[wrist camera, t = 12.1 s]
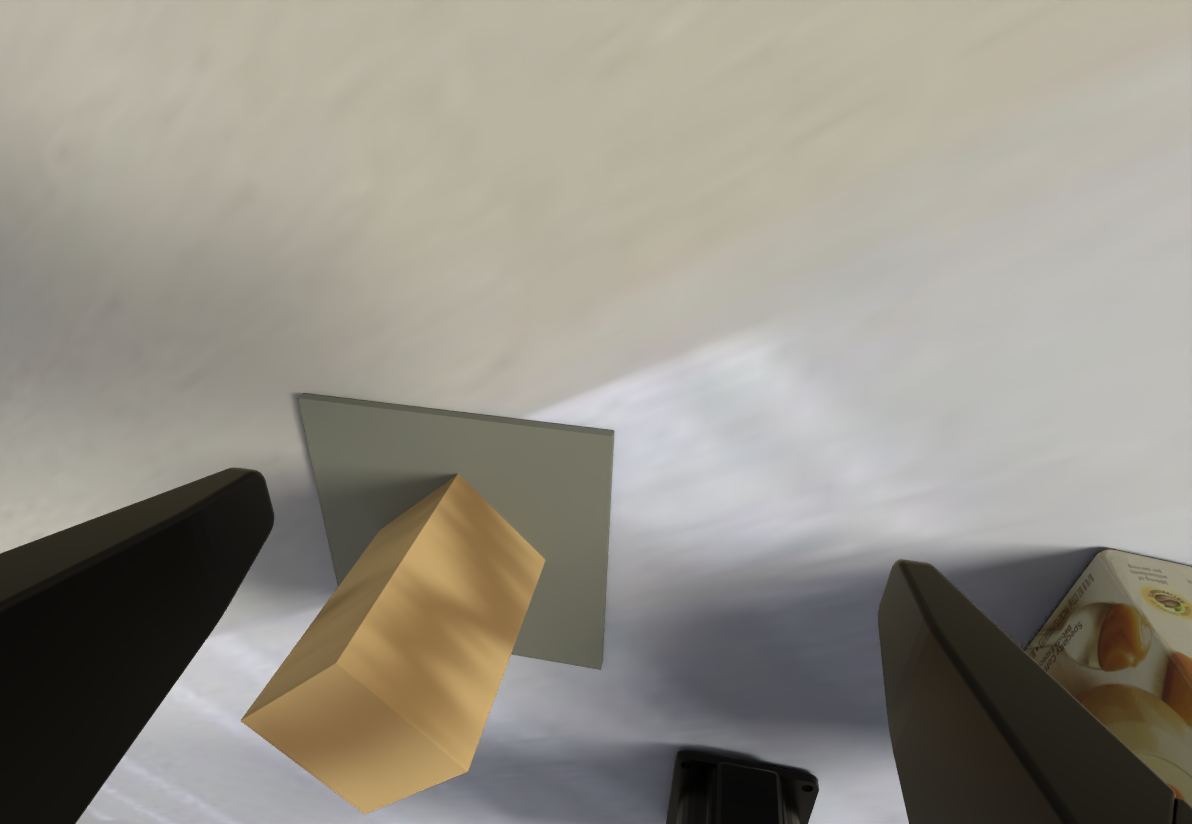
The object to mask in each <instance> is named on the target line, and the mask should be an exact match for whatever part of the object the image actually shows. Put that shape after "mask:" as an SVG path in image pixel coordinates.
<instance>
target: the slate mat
mask: <svg viewBox="0 0 1192 824" xmlns="http://www.w3.org/2000/svg"><path fill="white" fill-rule="evenodd" d="M298 402H299V406H300V411H301V416H302V420H303V425H304V430H305V434H306V439H307V444H308V448H309V453H310V458H311V462H312V467H313V472H314V476H315V481H316V486H317V490H318V495H319V500H320V504H321V509H322V513H323V518H324V523H325V527H326V532H327V537H328V541H329V546H330V551H331V555H332V560H333V565H334V569H335V574H336V579H337V583H338V587H339V585H340V584H341V582H342V581H343V580H344V578H345V577H346V576H347V574H348V573H349V572H350V570H351V569H352V567H353V566H354V565H355V563H356V562H357V561H358V559H359V558H360V556H361V555H362V554H363V552H364V551H365V550H366V548H367V547H368V546H369V544H370V543H371V541H372V540H373V539H374V537H375V536H376V535H377V533H378V532H379V530H381V529H382V528H383V527H385V526H386V525H388V524H389V523H390V522H392V521H393V520H394V519H396V518H397V517H399V516H400V515H401V514H403V513H404V512H406V511H407V510H408V509H410V508H411V507H413V506H414V505H415V504H417V503H418V502H419V501H421V500H422V499H424V498H425V497H426V496H428V495H429V494H431V493H432V492H433V491H435V490H436V489H437V488H439V487H440V486H442V485H443V484H444V483H446V482H447V481H449V480H450V479H451V478H453V477H454V476H455V475H457V474H459V475H460V476H461V477H462V478H463V479H464V480H465V481H466V482H467V483H468V484H469V485H470V486H471V487H472V488H473V489H474V490H475V491H476V492H477V493H478V494H479V495H480V496H481V497H482V498H483V499H484V500H485V501H486V502H488V503H489V504H490V505H491V506H492V507H493V508H494V509H495V510H496V511H497V512H498V513H499V514H500V515H501V516H502V517H503V518H504V519H505V520H506V521H507V522H508V523H509V524H510V525H511V526H512V527H513V528H514V529H515V530H516V531H517V532H518V533H519V534H520V535H521V536H522V537H523V538H524V539H525V540H526V541H527V542H528V543H529V544H530V545H531V546H532V547H533V548H534V549H535V550H536V551H537V552H538V553H539V554H540V555H541V556H542V557H543V558H544V559H545V563H544V566H543V568H542V571H541V574H540V577H539V579H538V582H537V585H536V587H535V590H534V593H533V596H532V598H531V601H530V604H529V607H528V609H527V612H526V615H525V617H524V620H523V623H522V626H521V628H520V631H519V634H518V637H517V639H516V642H515V645H514V647H513V650H512V653H511V654H513V655H519V656H524V657H530V658H536V659H542V660H548V661H553V662H559V663H565V664H571V665H576V666H582V667H588V668H594V669H600V670H601V667H602V660H603V641H604V622H605V602H606V583H607V564H608V544H609V525H610V506H611V486H612V467H613V448H614V431H613V430H604V429H596V428H588V427H579V426H571V425H563V424H554V423H546V422H538V421H529V420H521V419H513V418H504V417H496V416H488V415H480V414H471V413H463V412H455V411H446V410H438V409H430V408H421V407H413V406H405V405H396V404H388V403H380V402H371V401H363V400H355V399H346V398H338V397H330V396H322V395H313V394H305V393H303V394H302V395H301V396H300V397H299V398H298Z"/></svg>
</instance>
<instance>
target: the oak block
mask: <svg viewBox="0 0 1192 824" xmlns="http://www.w3.org/2000/svg"><path fill="white" fill-rule="evenodd" d="M544 563H545V559H544V558H543V557H542V556H541V555H540V554H539V553H538V552H537V551H536V550H535V549H534V548H533V547H532V546H531V545H530V544H529V543H528V542H527V541H526V540H525V539H524V538H523V537H522V536H521V535H520V534H519V533H518V532H517V531H516V530H515V529H514V528H513V527H512V526H511V525H510V524H509V523H508V522H507V521H506V520H505V519H504V518H503V517H502V516H501V515H500V514H499V513H498V512H497V511H496V510H495V509H494V508H493V507H492V506H491V505H490V504H489V503H488V502H486V501H485V500H484V499H483V498H482V497H481V496H480V495H479V494H478V493H477V492H476V491H475V490H474V489H473V488H472V487H471V486H470V485H469V484H468V483H467V482H466V481H465V480H464V479H463V478H462V477H461V476H460V475H459V474H457V475H455V476H454V477H453V478H451V479H450V480H449V481H447V482H446V483H444V484H443V485H442V486H440V487H439V488H437V489H436V490H435V491H433V492H432V493H431V494H429V495H428V496H426V497H425V498H424V499H422V500H421V501H419V502H418V503H417V504H415V505H414V506H413V507H411V508H410V509H408V510H407V511H406V512H404V513H403V514H401V515H400V516H399V517H397V518H396V519H394V520H393V521H392V522H390V523H389V524H388V525H386V526H385V527H383V528H382V529H381V530H379V532H378V533H377V535H376V536H375V537H374V539H373V540H372V541H371V543H370V544H369V546H368V547H367V548H366V550H365V551H364V552H363V554H362V555H361V556H360V558H359V559H358V561H357V562H356V563H355V565H354V566H353V567H352V569H351V570H350V572H349V573H348V574H347V576H346V577H345V578H344V580H343V581H342V582H341V584H340V585H339V587H338V588H337V589H336V591H335V592H334V593H333V595H332V596H331V598H330V599H329V600H328V602H327V603H326V604H325V606H324V607H323V609H322V610H321V611H320V613H319V614H318V615H317V617H316V618H315V619H314V621H313V622H312V624H311V625H310V626H309V628H308V629H307V630H306V632H305V633H304V635H303V636H302V637H301V639H300V640H299V641H298V643H297V644H296V645H295V647H294V648H293V650H292V651H291V652H290V654H289V655H288V656H287V658H286V659H285V661H284V662H283V663H282V665H281V666H280V667H279V669H278V670H277V672H276V673H275V674H274V676H273V677H272V678H271V680H270V681H269V682H268V684H267V685H266V687H265V688H264V689H263V691H262V692H261V693H260V695H259V696H258V698H257V699H256V700H255V702H254V703H253V704H252V706H251V707H250V708H249V710H248V711H247V713H246V714H245V715H244V717H243V718H242V719H241V722H243V723H244V724H245V725H247V726H248V727H249V728H251V729H252V730H253V731H255V732H256V733H257V734H259V735H260V736H261V737H263V738H264V739H265V740H267V741H268V742H269V743H271V744H272V745H273V746H275V747H276V748H277V749H278V750H280V751H281V752H282V753H284V754H285V755H286V756H288V757H289V758H290V759H292V760H293V761H294V762H296V763H297V764H298V765H300V766H301V767H302V768H304V769H305V770H306V771H308V772H309V773H310V774H312V775H313V776H314V777H316V778H317V779H318V780H320V781H321V782H322V783H324V784H325V785H326V786H328V787H329V788H330V789H332V790H333V791H334V792H335V793H337V794H338V795H339V796H341V797H342V798H343V799H345V800H346V801H347V802H349V803H350V804H351V805H353V806H354V807H355V808H357V809H358V810H359V811H361V812H362V813H363V814H367V813H369V812H372V811H374V810H376V809H379V808H381V807H384V806H386V805H389V804H391V803H393V802H396V801H398V800H401V799H403V798H405V797H408V796H410V795H413V794H415V793H417V792H420V791H422V790H425V789H427V788H430V787H432V786H434V785H437V784H439V783H442V782H444V781H446V780H449V779H451V778H454V777H456V776H458V775H461V774H463V773H466V772H468V770H469V767H470V765H471V762H472V759H473V757H474V754H475V751H476V748H477V746H478V743H479V740H480V737H481V735H482V732H483V729H484V727H485V724H486V721H487V718H488V716H489V713H490V710H491V707H492V705H493V702H494V699H495V697H496V694H497V691H498V688H499V686H500V683H501V680H502V677H503V675H504V672H505V669H506V667H507V664H508V661H509V658H510V656H511V653H512V650H513V647H514V645H515V642H516V639H517V637H518V634H519V631H520V628H521V626H522V623H523V620H524V617H525V615H526V612H527V609H528V607H529V604H530V601H531V598H532V596H533V593H534V590H535V587H536V585H537V582H538V579H539V577H540V574H541V571H542V568H543V566H544Z"/></svg>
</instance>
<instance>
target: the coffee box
mask: <svg viewBox="0 0 1192 824" xmlns="http://www.w3.org/2000/svg"><path fill="white" fill-rule="evenodd" d="M1025 652H1026V653H1027V654H1028V655H1029V656H1030V657H1031V658H1033V659H1034V660H1035V661H1036V662H1037V663H1038V664H1039V665H1040V666H1041V667H1042V668H1043V669H1044V670H1045V671H1046V672H1048V673H1049V674H1050V675H1051V676H1052V677H1053V678H1054V679H1055V680H1056V681H1057V682H1058V683H1059V684H1060V685H1061V686H1063V687H1064V688H1065V689H1066V690H1067V691H1068V692H1069V693H1070V694H1071V695H1072V696H1073V697H1074V698H1075V699H1076V700H1078V701H1079V702H1080V703H1081V704H1082V705H1083V706H1084V707H1085V708H1086V709H1087V710H1088V711H1089V712H1090V713H1091V714H1093V715H1094V716H1095V717H1096V718H1097V719H1098V720H1099V721H1100V722H1101V723H1102V724H1103V725H1104V726H1105V727H1106V728H1108V729H1109V730H1110V731H1111V732H1112V733H1113V734H1114V735H1115V736H1116V737H1117V738H1118V739H1119V740H1120V741H1121V742H1123V743H1124V744H1125V745H1126V746H1127V747H1128V748H1129V749H1130V750H1131V751H1132V752H1133V753H1134V754H1135V755H1136V756H1138V757H1139V758H1140V759H1141V760H1142V761H1143V762H1144V763H1145V764H1146V765H1147V766H1148V767H1149V768H1150V769H1151V770H1153V771H1154V772H1155V773H1156V774H1157V775H1158V776H1159V777H1160V778H1161V779H1162V780H1163V781H1164V782H1165V783H1166V784H1168V785H1169V786H1170V787H1171V788H1172V789H1173V790H1174V791H1175V794H1176V798H1182V799H1184V800H1185V801H1186V802H1187V803H1188V804H1189V805H1190V806H1191V807H1192V567H1191V566H1186V565H1182V564H1177V563H1172V562H1168V561H1163V560H1159V559H1154V558H1149V557H1145V556H1140V555H1136V554H1131V553H1127V552H1122V551H1117V550H1108V549H1107V550H1104V551H1102V552H1099V553H1098V554H1097V555H1096V556H1095V557H1094V559H1093V560H1092V561H1091V563H1090V564H1089V565H1088V567H1087V568H1086V569H1085V571H1084V572H1083V573H1082V575H1081V576H1080V577H1079V579H1078V580H1077V581H1076V583H1075V584H1074V585H1073V587H1072V588H1071V589H1070V591H1069V592H1068V593H1067V595H1066V596H1065V597H1064V599H1063V600H1062V602H1061V603H1060V604H1059V606H1058V607H1057V608H1056V610H1055V611H1054V612H1053V614H1052V615H1051V616H1050V618H1049V619H1048V620H1047V622H1046V623H1045V624H1044V626H1043V627H1042V628H1041V630H1040V631H1039V633H1038V634H1037V635H1036V637H1035V638H1034V639H1033V641H1032V642H1031V643H1030V645H1029V646H1028V647H1027V649H1026V650H1025ZM1176 798H1175V799H1176Z"/></svg>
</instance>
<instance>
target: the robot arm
mask: <svg viewBox="0 0 1192 824" xmlns="http://www.w3.org/2000/svg"><path fill="white" fill-rule="evenodd" d="M273 524H274V512H273V508H272V504H271V500H270V496H269V493H268V489H267V485H266V481H265V478H264V476H263V475H262V474H261V473H260V472H259V471H256V470H251V469H244V468H229V469H226V470H223V471H221V472H218V473H215V474H213V475H210V476H207V477H205V478H202V479H199V480H197V481H194V482H191V483H189V484H186V485H183V486H181V487H178V488H175V489H172V490H170V491H167V492H164V493H162V494H159V495H156V496H154V497H151V498H148V499H146V500H143V501H140V502H138V503H135V504H132V505H130V506H127V507H124V508H121V509H119V510H116V511H113V512H111V513H108V514H105V515H103V516H100V517H97V518H95V519H92V520H89V521H87V522H84V523H81V524H79V525H76V526H73V527H70V528H68V529H65V530H62V531H60V532H57V533H54V534H52V535H49V536H46V537H44V538H41V539H38V540H36V541H33V542H30V543H28V544H25V545H22V546H19V547H17V548H14V549H11V550H9V551H6V552H3V553H1V554H0V824H76V822H77V821H78V819H79V818H80V817H81V815H82V814H83V812H84V811H85V810H86V808H87V807H88V805H89V804H90V803H91V801H92V800H93V798H94V797H95V796H96V794H97V793H98V791H99V790H100V788H101V787H102V786H103V784H104V783H105V781H106V780H107V779H108V777H109V776H110V774H111V773H112V772H113V770H114V769H115V767H116V766H117V765H118V763H119V762H120V760H121V759H122V757H123V756H124V755H125V753H126V752H127V750H128V749H129V748H130V746H131V745H132V743H133V742H134V741H135V739H136V738H137V736H138V735H139V734H140V732H141V731H142V729H143V728H144V726H145V725H146V724H147V722H148V721H149V719H150V718H151V717H152V715H153V714H154V712H155V711H156V710H157V708H158V707H159V705H160V704H161V702H162V701H163V700H164V698H165V697H166V695H167V694H168V693H169V691H170V690H171V688H172V687H173V686H174V684H175V683H176V681H177V680H178V679H179V677H180V676H181V674H182V673H183V671H184V670H185V669H186V667H187V666H188V664H189V663H190V662H191V660H192V659H193V657H194V656H195V655H196V653H197V652H198V650H199V649H200V648H201V646H202V645H203V643H204V642H205V640H206V639H207V638H208V636H209V635H210V633H211V632H212V631H213V629H214V628H215V626H216V625H217V623H218V622H219V620H220V619H221V617H222V616H223V614H224V612H225V611H226V609H227V607H228V606H229V604H230V602H231V601H232V599H233V597H234V595H235V594H236V592H237V590H238V588H239V587H240V585H241V583H242V581H243V580H244V578H245V576H246V574H247V573H248V571H249V569H250V567H251V566H252V564H253V562H254V560H255V559H256V557H257V555H258V553H259V552H260V550H261V548H262V546H263V545H264V543H265V541H266V539H267V538H268V536H269V534H270V532H271V530H272V527H273ZM878 626H879V636H880V646H881V656H882V666H883V676H884V686H885V696H886V706H887V716H888V724H889V732H890V737H891V743H892V748H893V753H894V758H895V762H896V767H897V771H898V776H899V780H900V785H901V789H902V794H903V798H904V803H905V807H906V812H907V816H908V821H909V824H1192V807H1191V806H1190V805H1189V804H1188V803H1187V802H1186V801H1185V800H1184V799H1182V798H1176V794H1175V791H1174V790H1173V789H1172V788H1171V787H1170V786H1169V785H1168V784H1166V783H1165V782H1164V781H1163V780H1162V779H1161V778H1160V777H1159V776H1158V775H1157V774H1156V773H1155V772H1154V771H1153V770H1151V769H1150V768H1149V767H1148V766H1147V765H1146V764H1145V763H1144V762H1143V761H1142V760H1141V759H1140V758H1139V757H1138V756H1136V755H1135V754H1134V753H1133V752H1132V751H1131V750H1130V749H1129V748H1128V747H1127V746H1126V745H1125V744H1124V743H1123V742H1121V741H1120V740H1119V739H1118V738H1117V737H1116V736H1115V735H1114V734H1113V733H1112V732H1111V731H1110V730H1109V729H1108V728H1106V727H1105V726H1104V725H1103V724H1102V723H1101V722H1100V721H1099V720H1098V719H1097V718H1096V717H1095V716H1094V715H1093V714H1091V713H1090V712H1089V711H1088V710H1087V709H1086V708H1085V707H1084V706H1083V705H1082V704H1081V703H1080V702H1079V701H1078V700H1076V699H1075V698H1074V697H1073V696H1072V695H1071V694H1070V693H1069V692H1068V691H1067V690H1066V689H1065V688H1064V687H1063V686H1061V685H1060V684H1059V683H1058V682H1057V681H1056V680H1055V679H1054V678H1053V677H1052V676H1051V675H1050V674H1049V673H1048V672H1046V671H1045V670H1044V669H1043V668H1042V667H1041V666H1040V665H1039V664H1038V663H1037V662H1036V661H1035V660H1034V659H1033V658H1031V657H1030V656H1029V655H1028V654H1027V653H1026V652H1025V651H1024V650H1023V649H1022V648H1021V647H1020V646H1019V645H1018V644H1016V643H1015V642H1014V641H1013V640H1012V639H1011V638H1010V637H1009V636H1008V635H1007V634H1006V633H1005V632H1004V631H1003V630H1001V629H1000V628H999V627H998V626H997V625H996V624H995V623H994V622H993V621H992V620H991V619H990V618H989V617H988V616H986V615H985V614H984V613H983V612H982V611H981V610H980V609H979V608H978V607H977V606H976V605H975V604H974V603H973V602H971V601H970V600H969V599H968V598H967V597H966V596H965V595H964V594H963V593H962V592H961V591H960V590H959V589H958V588H956V587H955V586H954V585H953V584H952V583H951V582H950V581H949V580H948V579H947V578H946V577H945V576H944V575H943V574H941V573H940V572H939V571H938V570H937V569H936V568H935V567H934V566H932V565H931V564H929V563H925V562H918V561H911V560H903V559H900V560H898V561H896V562H895V563H894V565H893V566H892V569H891V571H890V575H889V578H888V581H887V584H886V587H885V590H884V593H883V596H882V599H881V602H880V606H879V612H878ZM818 791H819V786H818V779H817V778H816V777H815V776H814V775H812V774H809V773H803V772H798V771H793V770H787V769H782V768H777V767H771V766H766V765H760V764H755V763H750V762H744V761H739V760H734V759H728V758H723V757H718V756H712V755H707V754H702V753H696V752H691V751H680V752H678V753H677V754H676V758H675V765H674V772H673V779H672V786H671V793H670V800H669V806H668V813H667V820H666V824H808V822H809V819H810V816H811V813H812V810H813V806H814V803H815V800H816V797H817V794H818ZM1175 798H1176V799H1175Z"/></svg>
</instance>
